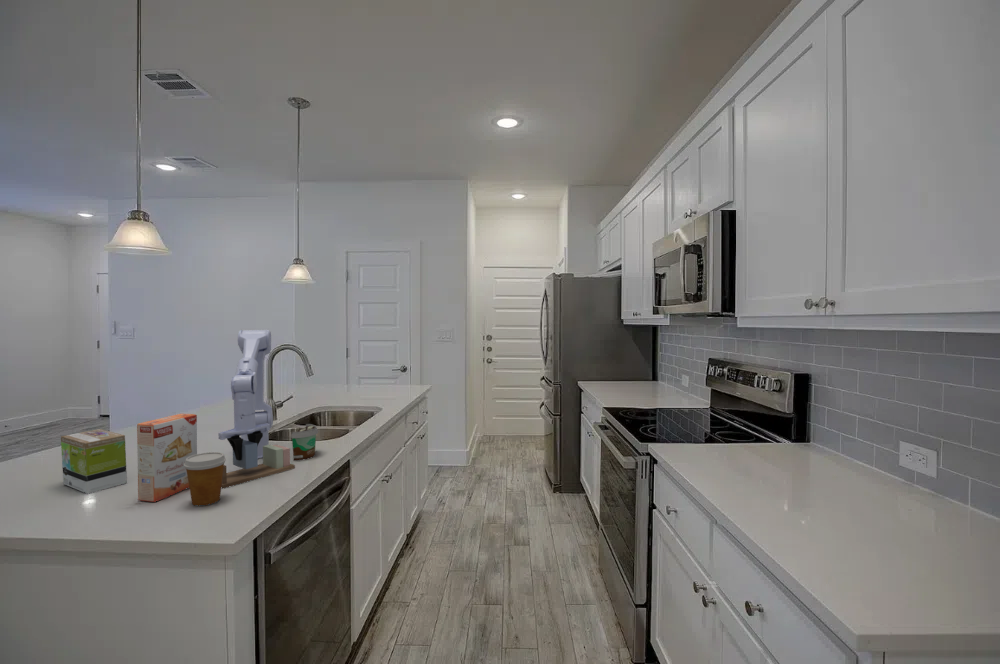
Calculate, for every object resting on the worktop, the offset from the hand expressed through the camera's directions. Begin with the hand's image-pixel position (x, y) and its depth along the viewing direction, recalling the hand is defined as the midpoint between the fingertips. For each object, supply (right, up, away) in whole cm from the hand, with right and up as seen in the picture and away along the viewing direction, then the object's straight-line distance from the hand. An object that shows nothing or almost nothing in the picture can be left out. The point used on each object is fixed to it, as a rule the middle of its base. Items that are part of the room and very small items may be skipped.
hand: (245, 458), depth 147 cm
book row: (+6, -4, +8) cm, 11 cm away
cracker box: (-14, -6, -13) cm, 20 cm away
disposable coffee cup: (0, -7, -19) cm, 20 cm away
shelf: (+1, -6, +2) cm, 6 cm away
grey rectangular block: (0, -2, 0) cm, 2 cm away
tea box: (-41, -6, -7) cm, 41 cm away
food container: (+11, -5, +21) cm, 24 cm away
